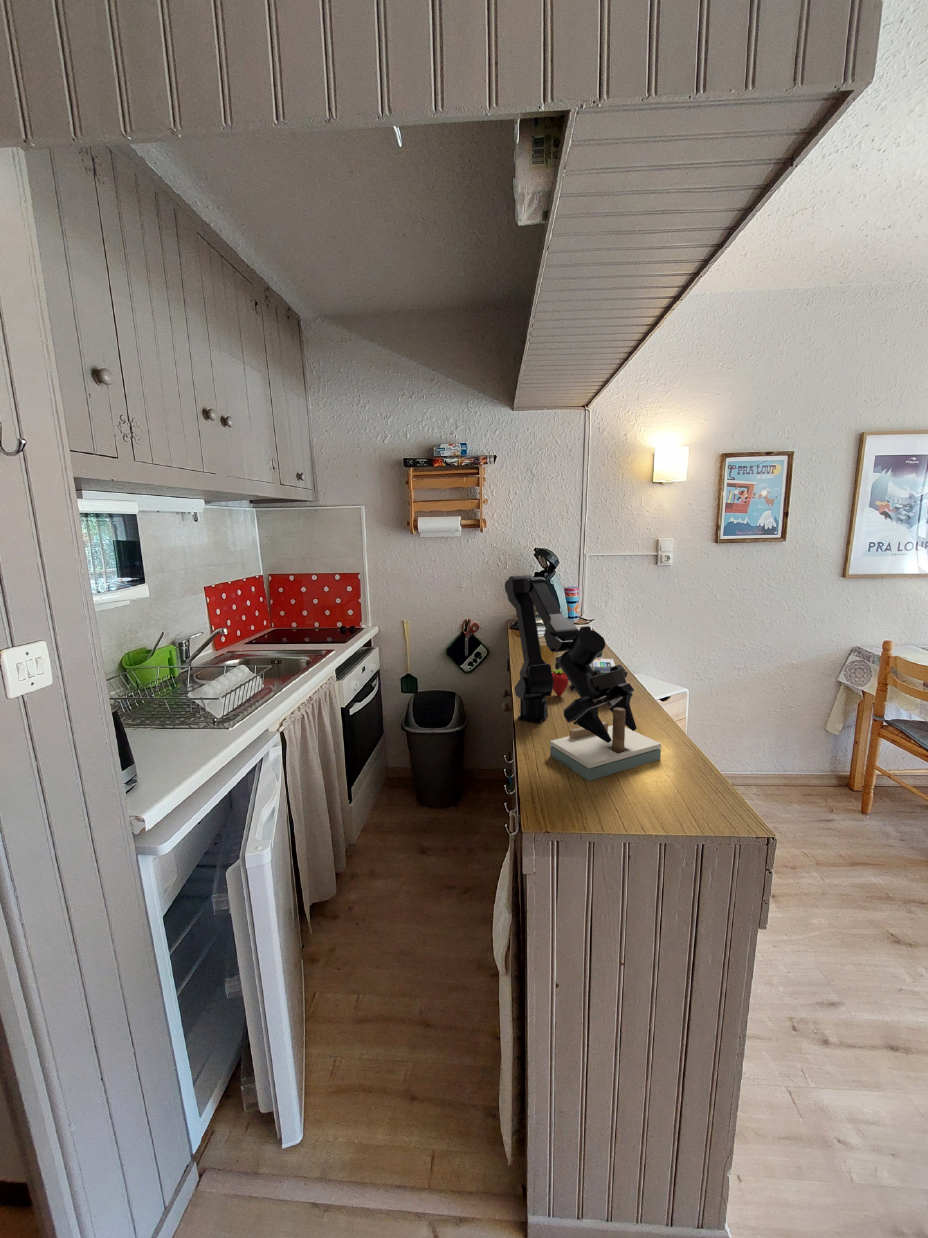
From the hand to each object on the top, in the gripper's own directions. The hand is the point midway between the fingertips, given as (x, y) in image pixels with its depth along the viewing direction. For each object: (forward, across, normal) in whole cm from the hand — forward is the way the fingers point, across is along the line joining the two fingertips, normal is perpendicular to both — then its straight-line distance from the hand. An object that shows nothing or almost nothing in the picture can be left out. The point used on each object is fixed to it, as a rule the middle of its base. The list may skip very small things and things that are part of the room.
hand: (622, 735), depth 105 cm
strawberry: (-23, +26, +33) cm, 47 cm away
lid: (-1, +1, +7) cm, 7 cm away
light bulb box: (-16, +36, +26) cm, 47 cm away
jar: (-24, +44, +34) cm, 61 cm away
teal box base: (+1, +1, +8) cm, 9 cm away
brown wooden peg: (+4, 0, +6) cm, 7 cm away
